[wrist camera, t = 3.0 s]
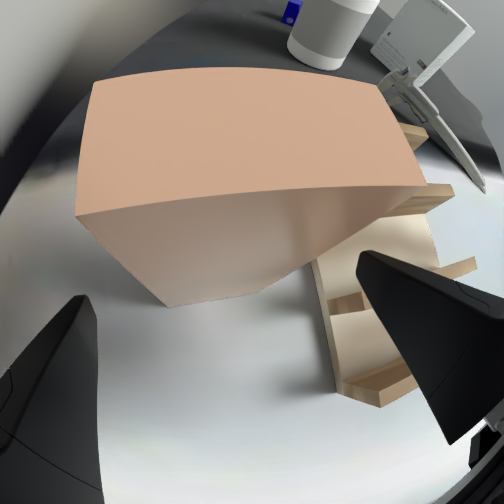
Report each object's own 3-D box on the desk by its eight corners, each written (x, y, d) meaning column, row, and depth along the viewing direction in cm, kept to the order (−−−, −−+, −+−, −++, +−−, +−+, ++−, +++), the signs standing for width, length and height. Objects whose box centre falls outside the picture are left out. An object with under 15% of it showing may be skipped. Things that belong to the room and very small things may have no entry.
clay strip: (257, 293, 17) (427, 186, 4) (168, 307, 16) (74, 216, 3) (249, 254, 18) (376, 85, 5) (162, 266, 17) (94, 82, 3)
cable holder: (339, 38, 29) (350, 19, 26) (335, 46, 28) (346, 25, 25) (288, 16, 29) (296, -4, 25) (280, 23, 28) (288, 1, 24)
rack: (445, 340, 20) (488, 336, 15) (337, 393, 17) (380, 407, 12) (393, 156, 24) (423, 128, 19) (281, 152, 21) (303, 109, 16)
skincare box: (368, 52, 30) (414, -18, 16) (387, 51, 32) (431, -9, 18) (409, 91, 29) (468, 23, 15) (424, 88, 31) (477, 30, 17)
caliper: (369, 97, 26) (397, 61, 20) (371, 93, 27) (397, 58, 21) (483, 195, 27) (515, 176, 21) (482, 189, 28) (513, 170, 22)
